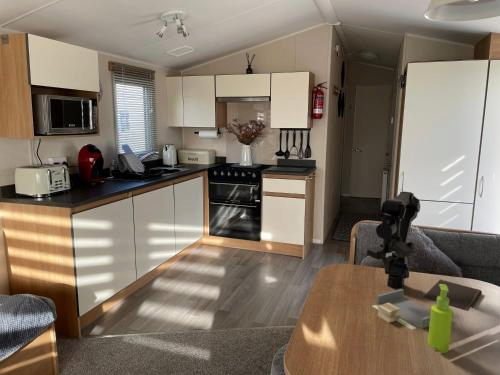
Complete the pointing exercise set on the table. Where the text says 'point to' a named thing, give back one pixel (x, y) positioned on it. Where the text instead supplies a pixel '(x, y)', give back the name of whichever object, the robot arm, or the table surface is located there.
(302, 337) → the table surface
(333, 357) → the table surface
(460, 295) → the hardcover book
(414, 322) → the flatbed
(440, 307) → the soap dispenser
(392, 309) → the beech block
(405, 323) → the panel
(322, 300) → the table surface
